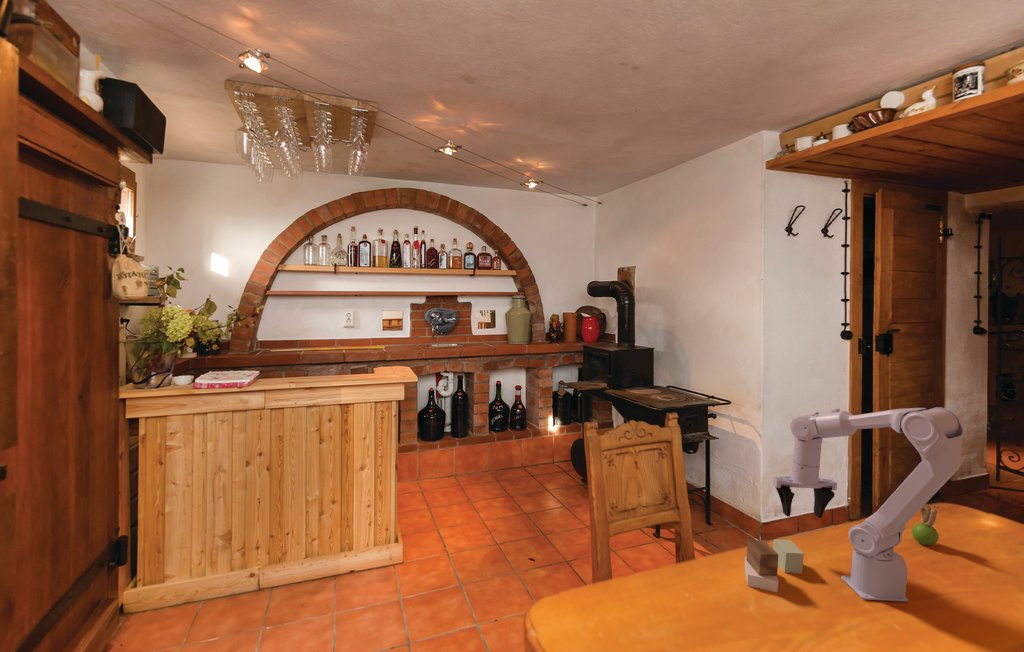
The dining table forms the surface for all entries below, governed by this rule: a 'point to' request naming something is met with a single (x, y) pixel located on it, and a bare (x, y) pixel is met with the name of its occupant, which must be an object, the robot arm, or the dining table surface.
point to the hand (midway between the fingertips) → (802, 515)
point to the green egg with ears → (926, 527)
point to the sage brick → (789, 556)
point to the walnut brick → (762, 557)
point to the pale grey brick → (760, 579)
